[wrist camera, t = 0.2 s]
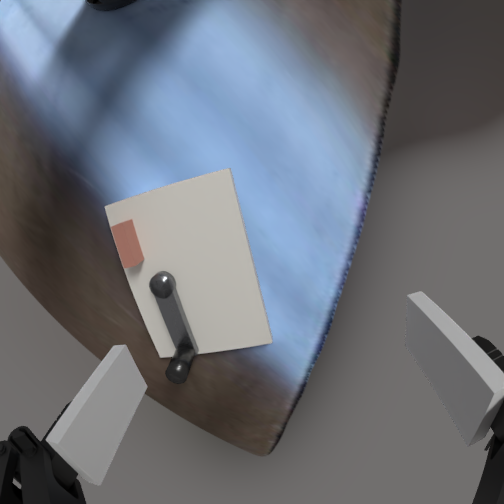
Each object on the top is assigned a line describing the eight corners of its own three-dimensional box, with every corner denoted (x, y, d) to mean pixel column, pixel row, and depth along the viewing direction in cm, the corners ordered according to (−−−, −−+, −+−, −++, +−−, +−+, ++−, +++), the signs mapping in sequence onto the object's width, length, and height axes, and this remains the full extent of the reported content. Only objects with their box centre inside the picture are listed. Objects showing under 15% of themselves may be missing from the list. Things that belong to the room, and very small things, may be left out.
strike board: (111, 204, 39) (93, 209, 34) (230, 168, 37) (225, 168, 32) (163, 351, 46) (155, 368, 41) (272, 335, 44) (272, 354, 39)
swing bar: (149, 273, 39) (127, 295, 32) (171, 268, 39) (152, 290, 32) (181, 354, 43) (168, 384, 36) (201, 352, 43) (191, 382, 35)
